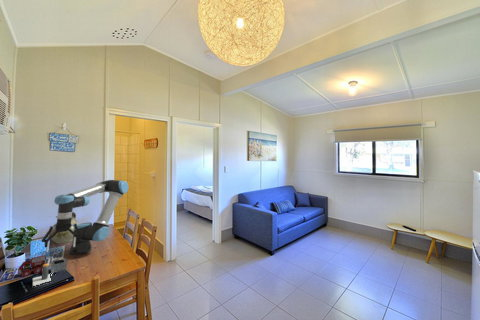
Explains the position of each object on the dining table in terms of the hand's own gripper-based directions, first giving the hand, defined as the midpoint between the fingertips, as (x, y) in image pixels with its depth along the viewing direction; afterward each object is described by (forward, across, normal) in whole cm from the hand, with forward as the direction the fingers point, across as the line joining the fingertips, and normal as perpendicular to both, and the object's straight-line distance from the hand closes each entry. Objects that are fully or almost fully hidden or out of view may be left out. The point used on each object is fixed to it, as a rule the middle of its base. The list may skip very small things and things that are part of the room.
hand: (61, 248), depth 133 cm
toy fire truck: (+15, -13, +7) cm, 21 cm away
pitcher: (+15, +9, +62) cm, 65 cm away
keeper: (+15, -7, -9) cm, 19 cm away
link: (+15, 0, 0) cm, 15 cm away
